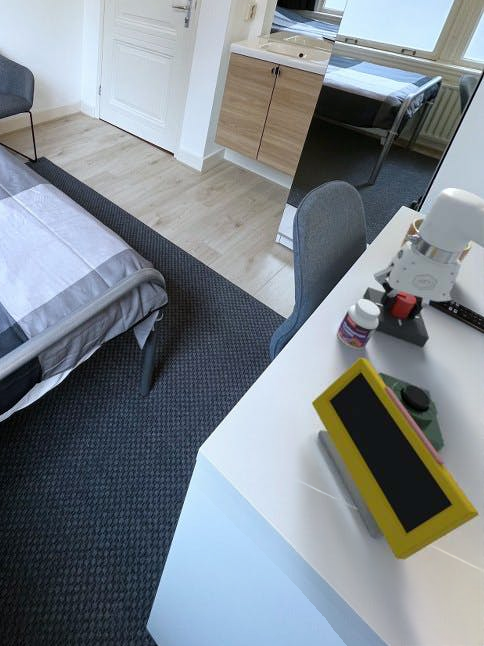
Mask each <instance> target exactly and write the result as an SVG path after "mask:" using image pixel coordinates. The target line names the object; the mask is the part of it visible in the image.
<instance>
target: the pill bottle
mask: <svg viewBox="0 0 484 646" xmlns="http://www.w3.org/2000/svg"><path fill="white" fill-rule="evenodd" d="M379 314H380V310H379V308H378V307H377V306H376V305H375V304H374V303H373V302H371V301H369V300H366V299H364V298H360V299H358V300H357V301H356V303H355V304H354V305H351V306H349V308H348V310H347V312H346V313H345V315H344V316H343V319H342V321H341V323H340V324H339V326H338V327H337V331H336V332H337V336H338V338H339V340H340V341H341V342H342V343H343V344H344V345H345V346H347V347H348V348H351V349H354V350H362V349H364V348H365V347H366V346H367V345H368V343H369V341H370V339H371V338H372V336H373V335H374V333H375V331H376V328H377V326H378V323H379V322H378V318H377V317H378V316H379Z"/></svg>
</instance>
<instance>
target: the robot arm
mask: <svg viewBox="0 0 484 646" xmlns="http://www.w3.org/2000/svg"><path fill="white" fill-rule="evenodd" d="M424 218H425V219H424V220H423V222H422V224H421V226H420V227H419V229H418V231H416V232H415V234H414V235H409V234H407V236H406V240H407V241H408V242H407V243H405V244H404V245H403V246H402V247H401V246H400V248H401V249H398V251H396V253H395V254H394V255H393V257H392V258H391V260H390V262H389V263H388V264H387V266H386V268H384V269H382V270H379V271H377V272H375V273H373V276H374V280H375V281H376V282H377V283H379V285H381V286H382V288H383V289H384V292H385V293H384V294H383V296H382V298H381V304H383V307H384V310H385V311H387V312H388V311H390V309H391V307H392V306H393V304H394V302H395V301H396V299H395V296H396V295H397V294H398V293H399V292H400V291H401V292H404V293H408V294H411V295H413V296H414V297H415V298H416V300H417V302H416V304H415V305H414V307H413V309H412V310H411V312H410V313H409V318H410V319H414V318H415V317H416V315H418V314H419V313H420V312H422V310H423V309H424V308H427V307H429V305H433V304H438V303H439V302H449V301H451V300H452V296H451V294H450V292H451V291H452V290H453V287H454V285H455V283H456V280H457V278H458V276H459V272H460V268H461V265H462V262H460V261H459V259H458V258H459V257H460V255H461V254H462V252H463V251H464V249H465V248H466V246H467V245H468V243H469V242H473V243H475V244H477V245H479V246H480V247H482V248H484V199H483V198H482V197H480V196H478V195H476V194H474V193H473V192H470V191H468V190H464V189H460V188H455V187H454V188H453V187H450V188H445V189H442V190H440V192H439V193H438V194H437V196H436V198H435V200H434V201H433V203H432V205H431V207H430V208H429V210H428V212H427V214H426V215H425V217H424ZM387 279H388V280H387Z"/></svg>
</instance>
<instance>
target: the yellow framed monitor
mask: <svg viewBox="0 0 484 646" xmlns="http://www.w3.org/2000/svg"><path fill="white" fill-rule="evenodd" d="M378 374H379V373H378V372H377V371H376V369H375V368H374V366H372V364H371V362H370V361H369V360H368V359H367V358H363V357H359V358H358V359H357V360H356V361H355V362H354V363H353V364H352V365H350V366H349V368H347V369H346V370H345V371H344V372H342V374H340V375H339V377H338V378H336V380H334V381H333V382H332V383H331V384H330V385H329V386H328V387H327V388H326V389H325V390H324V391H323V392H321V394H319V396H317V397H316V398H315V399H314V400H313V401H312V402H311V405H312V406H313V408H314V410H315V412H316V414H317V416H318V417H319V419H320V421H321V423H322V425H323V427H324V428H325V430H323V429H320V430H319V431H318V436H319V438H320V440H321V442H322V444H323V445H324V447H325V450H326V452H327V453H328V456H329V458H330V459H331V461H332V462H333V465H334V466H335V468H336V470H337V472H338V474H339V476H340V479H341V480H342V482H343V484H344V486H345V487H346V490H347V491H348V493H349V496H350V497H351V499H352V501H353V503H354V504H355V507H356V508H357V510H358V512H359V514H360V516H361V518H362V520H363V523H365V526H366V528H367V529H368V531H369V533H370V535H371V538H373V539H376V538H379V537H380V536H382V535H383V537H384V539H385V540H386V542H387V544H388V546H389V548H390V550H391V552H392V554H393V555H394V557H395V559H397V560H406V559H408V558H410V557H411V556H413V555H414V554H416V553H418V552H420V551H421V550H423V549H424V548H427V547H428V546H430V545H431V544H432V543H434V542H436V541H438V540H440V539H441V538H443V537H444V536H447V535H448V534H450V533H451V532H453V531H455V530H456V529H458V528H460V527H461V526H463V525H464V524H466V523H468V522H470V521H471V520H473V519H475V518H477V517H478V516H479V511H478V510H477V509H476V508H475V506H474V505H473V503H472V502H471V501H470V499H469V498H468V497H467V495H466V494H465V492H464V491H463V490H462V488H461V487H460V486H459V484H458V483H457V482H456V480H455V479H454V477H453V476H452V474H451V473H450V472H449V470H448V469H447V468H446V466H445V465H444V463H445V462H444V459H442V457H441V455H440V454H439V453H438V452H437V451H436V450H435V449H434V447H433V446H432V445H431V443H430V442H429V441H428V439H427V438H426V437H425V435H424V434H423V432H422V431H421V430H420V428H419V427H418V426H417V424H416V423H415V421H414V420H413V419H412V417H411V416H410V415H409V413H408V412H407V410H406V409H405V408H404V406H403V405H402V404H401V402H400V401H399V399H398V398H397V397H396V395H395V394H394V393H393V391H392V390H391V389H390V388H389V387H388V386H386V385H385V383H384V382H383V381H382V379H381V378H380V376H379V375H378Z"/></svg>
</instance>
